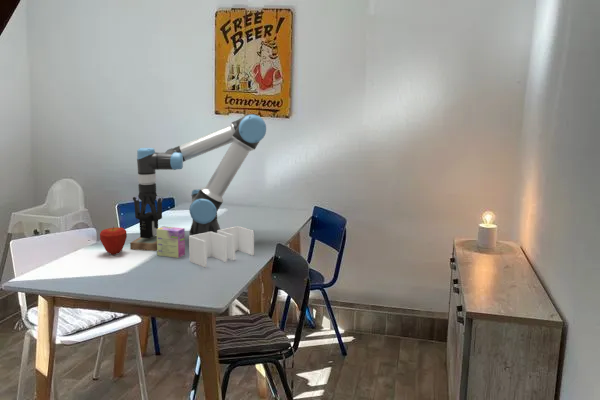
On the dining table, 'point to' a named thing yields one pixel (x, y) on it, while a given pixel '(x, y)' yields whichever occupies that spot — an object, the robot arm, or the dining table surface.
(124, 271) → the dining table surface
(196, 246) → the white folding screen
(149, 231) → the electronic device
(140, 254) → the dining table surface
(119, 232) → the apple
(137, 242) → the wooden tray
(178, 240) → the box
